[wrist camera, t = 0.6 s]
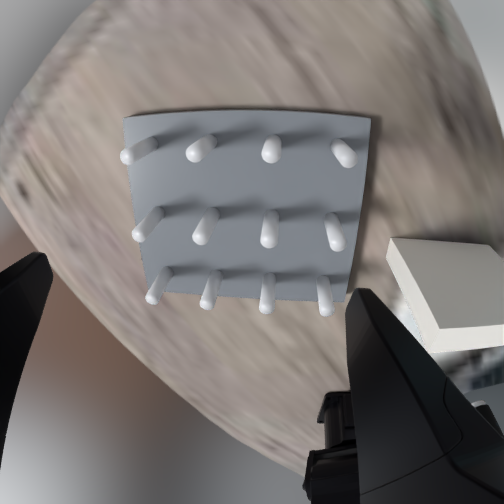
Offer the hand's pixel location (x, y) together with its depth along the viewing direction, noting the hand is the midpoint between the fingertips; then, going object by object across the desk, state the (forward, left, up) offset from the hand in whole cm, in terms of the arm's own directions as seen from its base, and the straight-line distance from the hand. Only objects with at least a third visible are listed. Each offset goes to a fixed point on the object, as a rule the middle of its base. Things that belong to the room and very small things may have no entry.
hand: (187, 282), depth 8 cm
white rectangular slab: (-6, -16, -14) cm, 22 cm away
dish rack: (-4, 0, -14) cm, 14 cm away
